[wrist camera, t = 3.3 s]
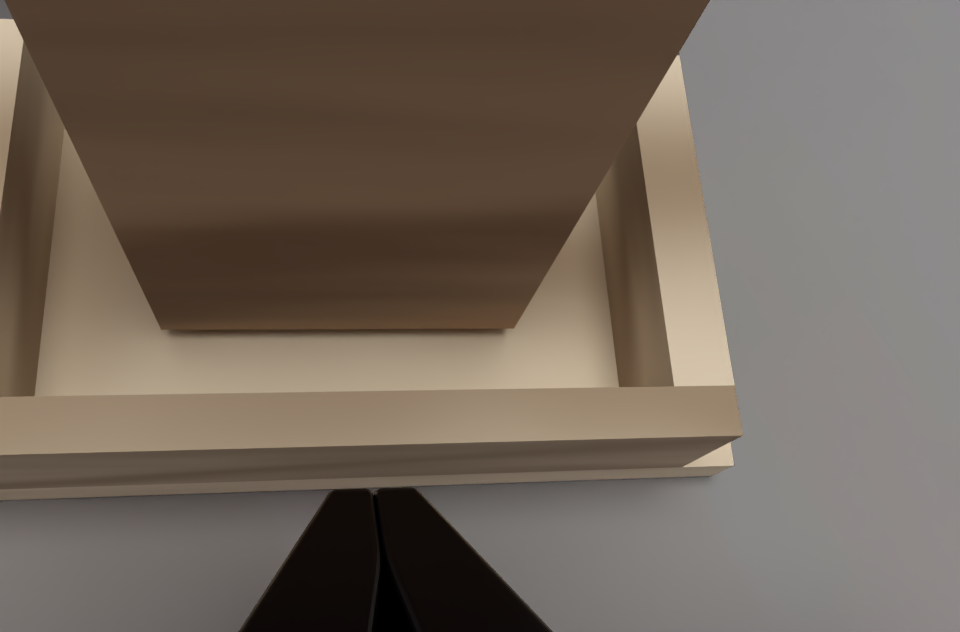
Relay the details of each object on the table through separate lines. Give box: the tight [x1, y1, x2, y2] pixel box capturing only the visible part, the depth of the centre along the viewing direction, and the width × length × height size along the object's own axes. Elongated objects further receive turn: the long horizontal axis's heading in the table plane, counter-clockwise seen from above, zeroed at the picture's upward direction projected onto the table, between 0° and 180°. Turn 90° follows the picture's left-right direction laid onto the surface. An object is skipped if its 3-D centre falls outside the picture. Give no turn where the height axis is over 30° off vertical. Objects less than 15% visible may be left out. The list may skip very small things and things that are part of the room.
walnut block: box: [4, 0, 710, 330], centre depth 12 cm, size 5×6×9 cm
